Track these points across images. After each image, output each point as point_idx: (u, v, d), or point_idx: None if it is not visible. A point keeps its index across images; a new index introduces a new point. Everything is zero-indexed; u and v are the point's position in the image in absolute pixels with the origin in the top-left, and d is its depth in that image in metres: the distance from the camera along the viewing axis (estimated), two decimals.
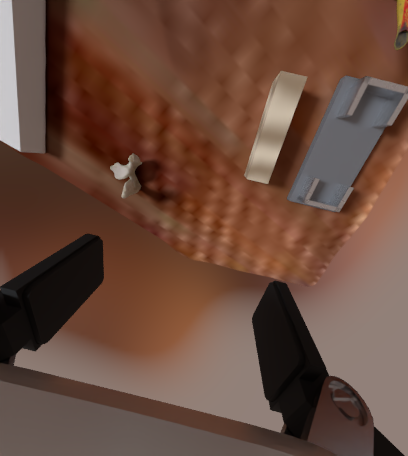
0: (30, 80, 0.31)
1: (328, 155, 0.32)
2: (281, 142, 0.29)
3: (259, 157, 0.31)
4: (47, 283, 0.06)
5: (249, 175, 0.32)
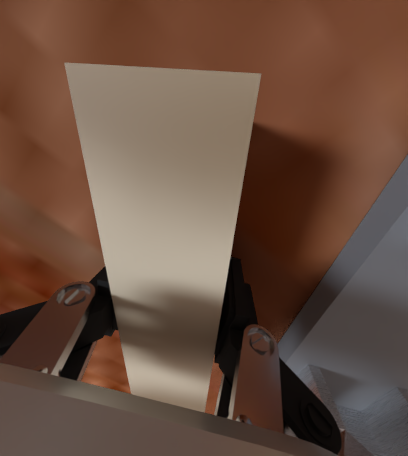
0: None
1: (371, 332, 0.10)
2: (207, 352, 0.07)
3: (146, 380, 0.09)
4: None
5: None
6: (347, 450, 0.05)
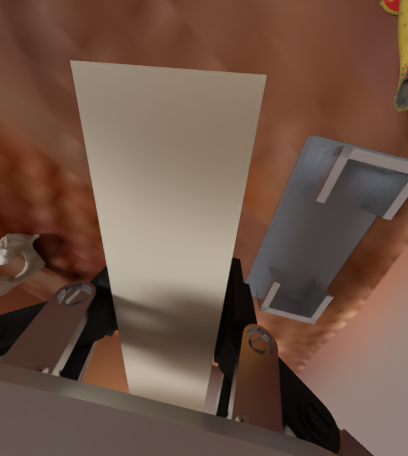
0: None
1: (295, 243, 0.21)
2: (207, 352, 0.07)
3: (145, 380, 0.09)
4: None
5: None
6: (346, 449, 0.05)
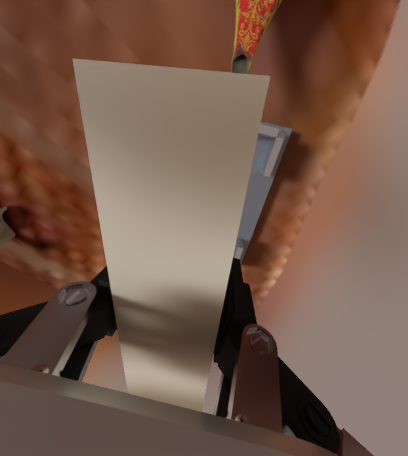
0: None
1: None
2: (206, 352, 0.07)
3: (143, 380, 0.08)
4: None
5: None
6: (345, 449, 0.05)
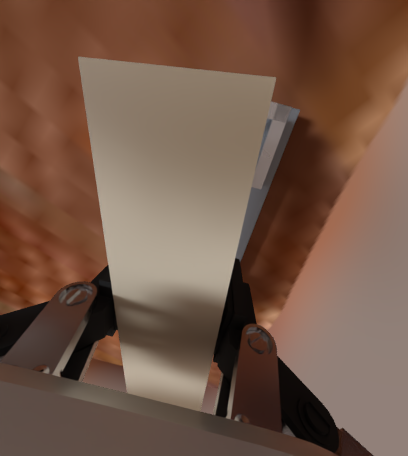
0: None
1: None
2: (206, 352, 0.07)
3: (143, 379, 0.08)
4: None
5: None
6: (344, 448, 0.05)
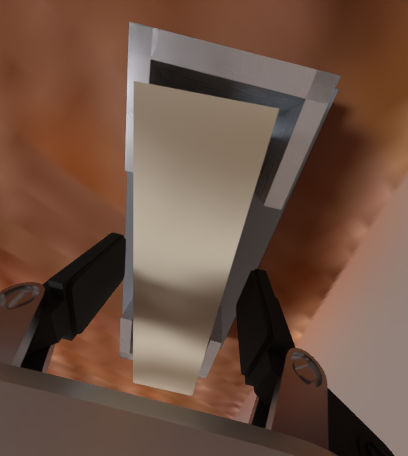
0: None
1: None
2: (207, 324, 0.08)
3: (149, 349, 0.10)
4: (85, 277, 0.07)
5: (136, 377, 0.11)
6: None
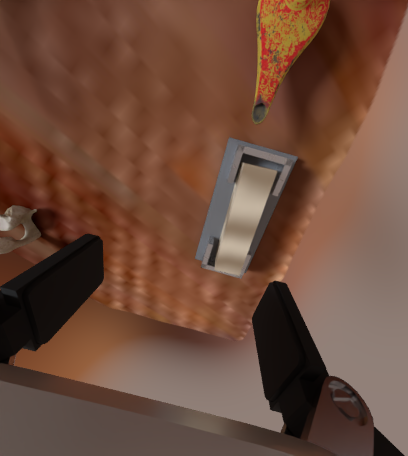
0: None
1: None
2: (251, 235, 0.24)
3: (226, 249, 0.25)
4: (47, 283, 0.06)
5: (216, 266, 0.27)
6: None
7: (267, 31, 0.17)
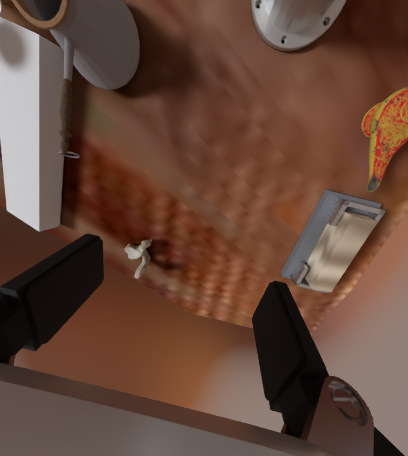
0: (50, 177, 0.35)
1: None
2: (347, 264, 0.32)
3: (325, 274, 0.34)
4: (47, 283, 0.06)
5: (314, 285, 0.35)
6: None
7: (382, 131, 0.25)
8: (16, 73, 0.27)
